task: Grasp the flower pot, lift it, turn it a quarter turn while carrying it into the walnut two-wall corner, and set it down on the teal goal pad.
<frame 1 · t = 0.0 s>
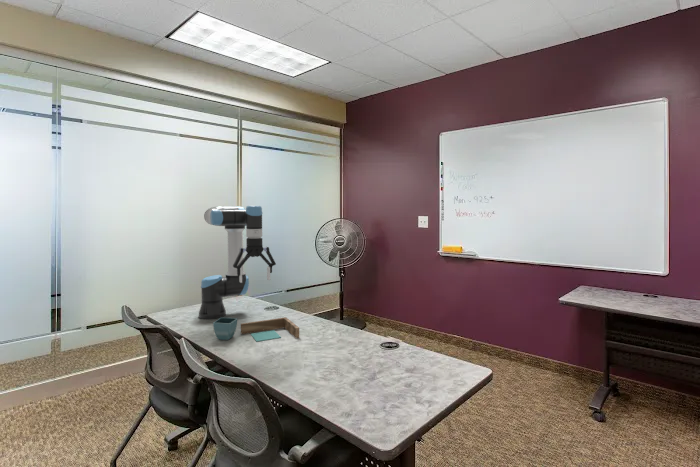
hand: (255, 281, 179), 28 cm above the table, fingers open, 13 cm apart
corner arena: (269, 335, 183), on the table
flower pot: (225, 338, 179), on the table
goal pad: (265, 336, 182), on the table
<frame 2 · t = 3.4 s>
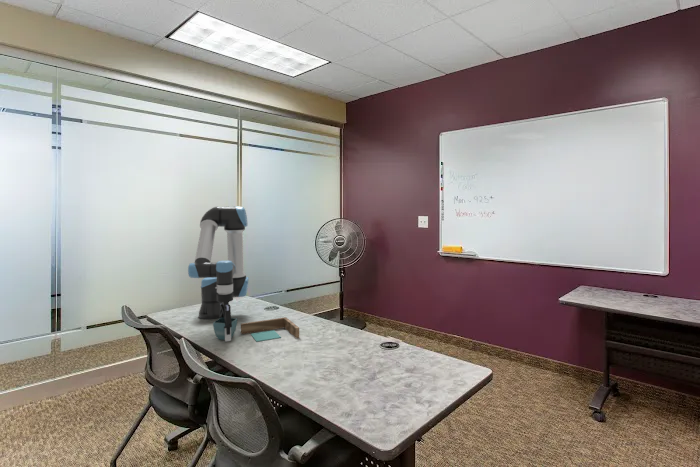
hand: (225, 336, 179), 1 cm above the table, fingers closed on flower pot, 11 cm apart
flower pot: (225, 338, 179), on the table, touching gripper
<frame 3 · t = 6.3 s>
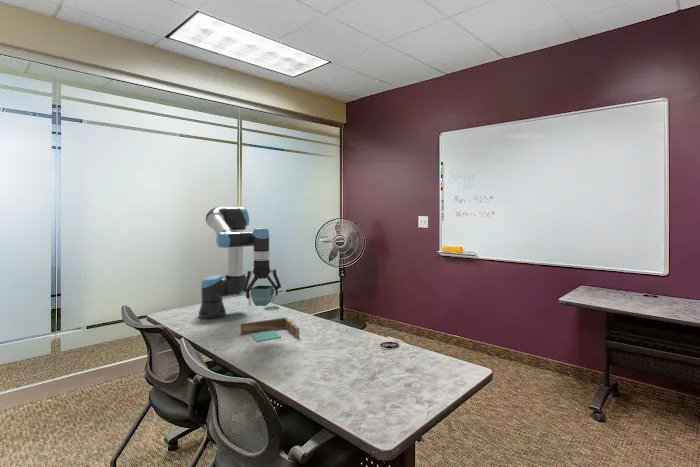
hand: (262, 303, 180), 17 cm above the table, fingers closed on flower pot, 11 cm apart
flower pot: (262, 305, 180), point 16 cm above the table, touching gripper
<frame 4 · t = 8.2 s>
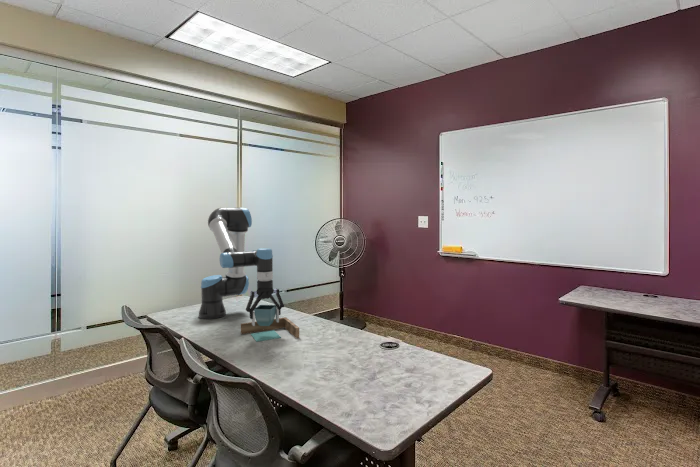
hand: (265, 323, 181), 6 cm above the table, fingers closed on flower pot, 11 cm apart
flower pot: (265, 325, 181), point 6 cm above the table, touching gripper
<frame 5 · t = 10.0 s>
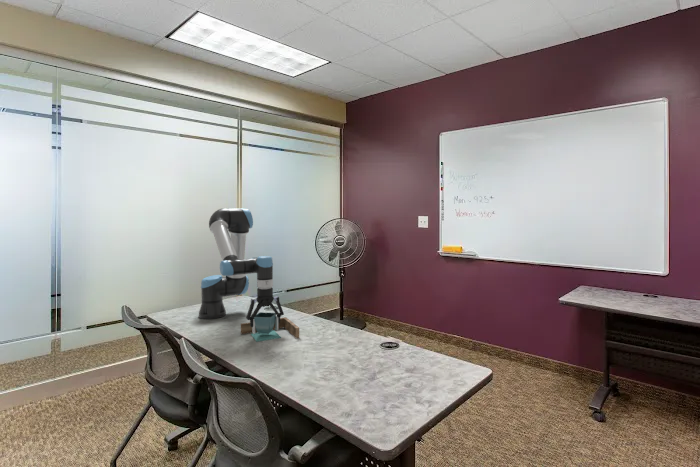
hand: (265, 331, 182), 2 cm above the table, fingers closed on flower pot, 11 cm apart
flower pot: (265, 332, 182), point 2 cm above the table, touching gripper
when the fingers open (2 cm above the table, at t = 10.0 s): flower pot drops 1 cm, resting on goal pad.
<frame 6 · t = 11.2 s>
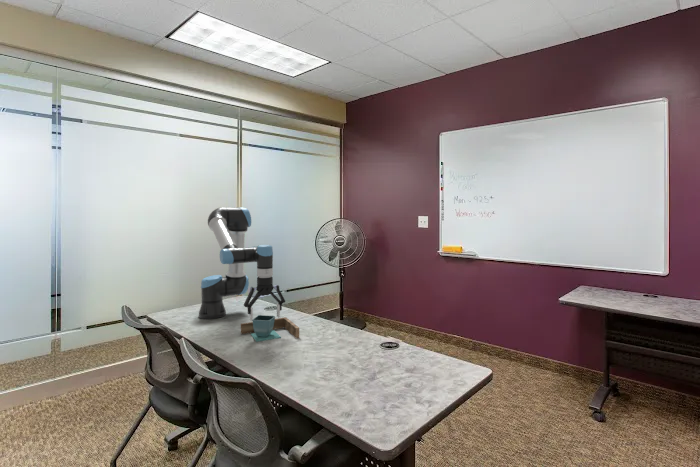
hand: (265, 318, 182), 9 cm above the table, fingers open, 13 cm apart
flower pot: (263, 335, 181), resting on goal pad
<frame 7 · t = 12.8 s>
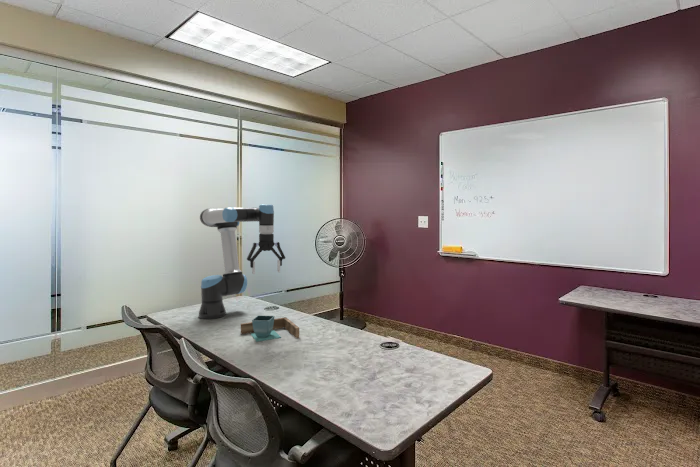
hand: (266, 272, 196), 29 cm above the table, fingers open, 13 cm apart
nothing on the table moved.
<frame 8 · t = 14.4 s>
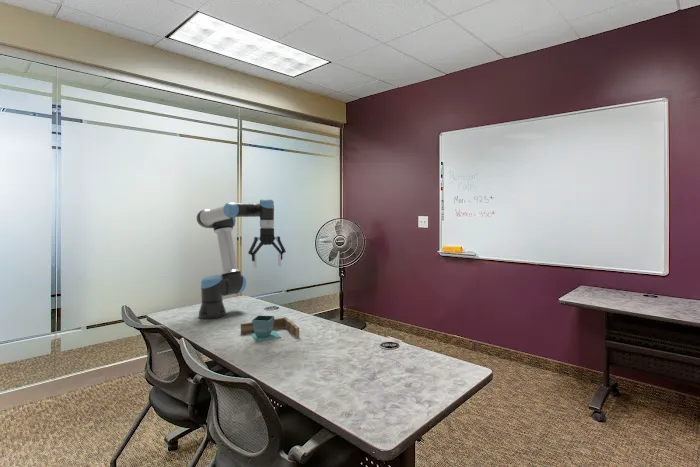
hand: (267, 266, 201), 32 cm above the table, fingers open, 13 cm apart
nothing on the table moved.
at the end: flower pot inside the target area on the goal pad (1.0 cm from its centre), point 0.2 cm above the goal pad's base; flower pot tilted 0°; the gripper is holding nothing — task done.
